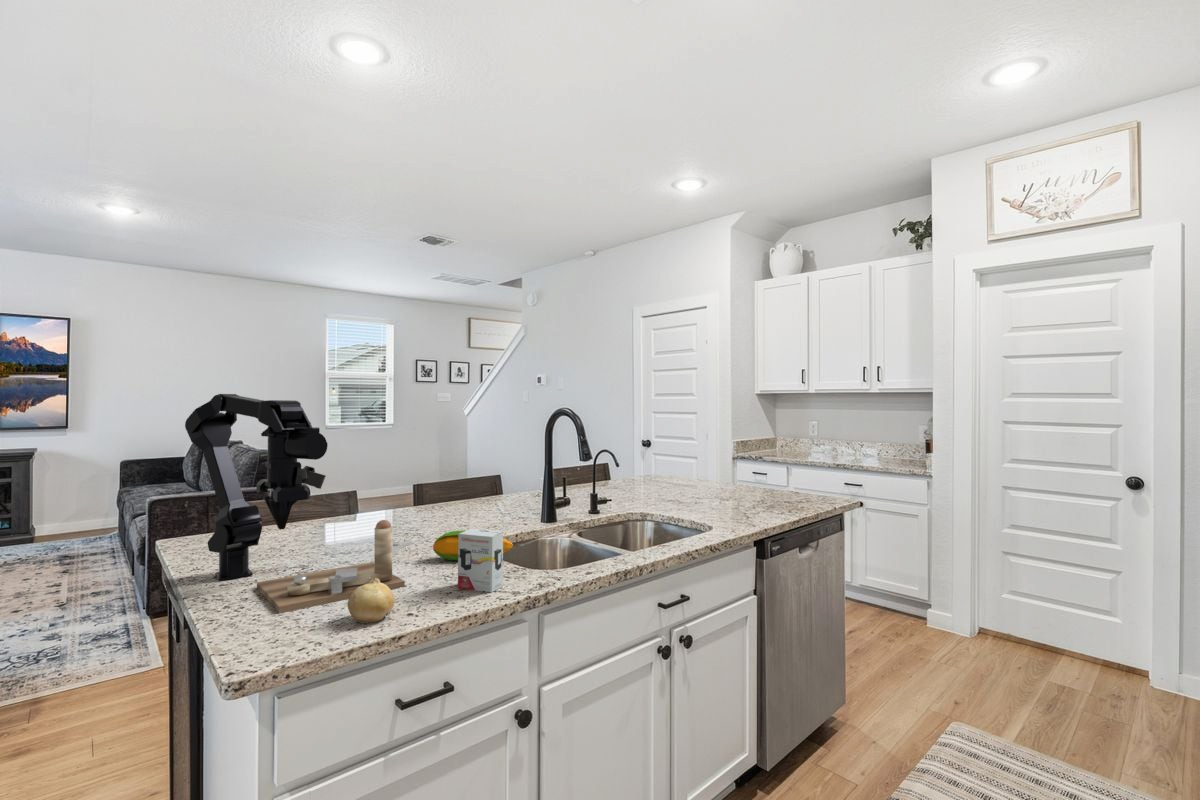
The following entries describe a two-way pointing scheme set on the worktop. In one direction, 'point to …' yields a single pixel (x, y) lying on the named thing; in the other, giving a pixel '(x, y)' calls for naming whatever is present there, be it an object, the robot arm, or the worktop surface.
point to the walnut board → (283, 602)
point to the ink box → (480, 560)
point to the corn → (456, 545)
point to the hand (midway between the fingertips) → (281, 529)
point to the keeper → (335, 579)
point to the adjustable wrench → (399, 546)
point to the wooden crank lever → (380, 571)
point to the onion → (371, 601)
